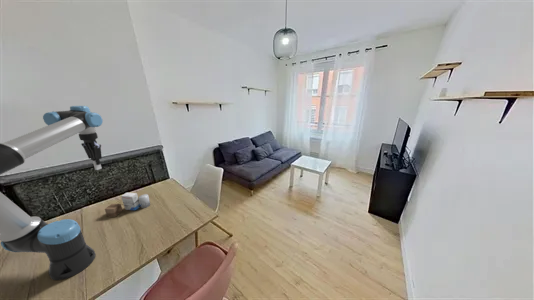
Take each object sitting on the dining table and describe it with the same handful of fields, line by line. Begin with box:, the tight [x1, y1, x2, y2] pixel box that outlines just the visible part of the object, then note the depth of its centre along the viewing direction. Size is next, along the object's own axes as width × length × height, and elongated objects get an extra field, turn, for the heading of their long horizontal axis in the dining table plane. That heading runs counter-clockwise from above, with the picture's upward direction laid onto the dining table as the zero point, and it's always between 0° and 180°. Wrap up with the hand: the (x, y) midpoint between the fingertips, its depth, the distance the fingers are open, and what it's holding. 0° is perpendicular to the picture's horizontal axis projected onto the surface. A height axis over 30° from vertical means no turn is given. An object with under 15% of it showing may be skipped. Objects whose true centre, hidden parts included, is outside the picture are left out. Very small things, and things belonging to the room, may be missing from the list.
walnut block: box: [104, 203, 123, 218], centre depth 118 cm, size 6×6×6 cm
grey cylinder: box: [138, 193, 151, 209], centre depth 127 cm, size 6×6×8 cm
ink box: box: [120, 192, 141, 211], centre depth 123 cm, size 9×5×12 cm, turn 84°
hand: (98, 169), depth 108 cm, fingers closed
